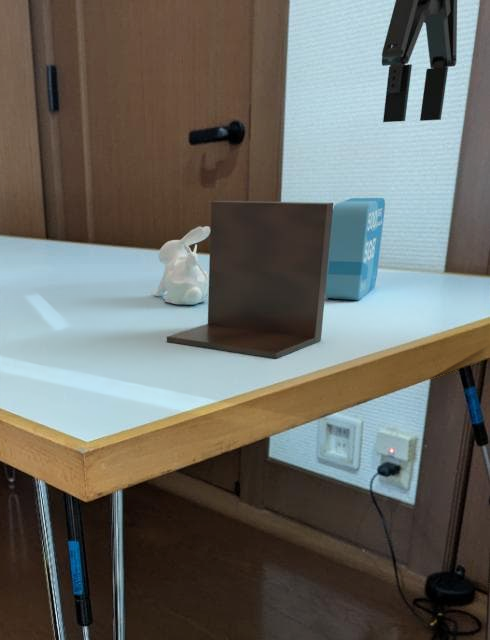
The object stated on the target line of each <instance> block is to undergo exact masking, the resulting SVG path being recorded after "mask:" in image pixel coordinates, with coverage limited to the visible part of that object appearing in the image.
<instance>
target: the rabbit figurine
mask: <svg viewBox="0 0 490 640" xmlns="http://www.w3.org/2000/svg"><path fill="white" fill-rule="evenodd" d="M210 227H211V226H208V225H207V226H206V225H205V226H197V227H195V228H193V229H191V230H189V232H187V234H185V235H184V236H183V237H182V238H181V239H172V240H168V241H167V242H165V243H164V244H163V245H162V246H161V247H160V249H159V250H158V253H157V257H158V261H159V262H160V263H162V264H164V265H165V266H164V269H163V270H164V271H163V274H162V277H161V279H160V282H159V284H158V286H157V289H156V291H155V292H151V293H150V295H151V296H155V297H162V296H163V299H164V302H166V303H169V304H174V305H188V306H193V305H197V304H200V303H203V302H205V300H206V297H207V295H208V293H209V272H207V271H206V270H204V268H203V266H202V264H201V263H200V262H199V261H198V260H199V255H198V254H197V248H198V244H197V243H200V242H202V241H204V240H206V239H207V238H208V237H210ZM194 244H195V245H194ZM192 245H194V248H193V251H192V249H191V248H190V246H192Z"/></svg>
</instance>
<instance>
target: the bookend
mask: <svg viewBox="0 0 490 640" xmlns="http://www.w3.org/2000/svg"><path fill="white" fill-rule="evenodd" d="M333 208H334V202H317V201H316V202H314V201H313V202H312V201H260V200H257V201H256V200H214V201H211V202H210V226H209V227H210V234H209V261H208V262H209V265H208V277H209V285H208V299H207V301H208V303H207V323H206V324H202V325H200V326H196V327H193V328H190V329H186V330H183V331H180V332H177V333H174V334H170V335H168V336H166V343H167V342H168V343H174V344H179V345H186V346H192V347H193V346H194V347H198V348H206V349H210V350H211V349H212V350H218V351H225V352H231V353H238V354H245V355H251V356H255V357H263V358H270V359H279V358H281V357H283V356H286V355H288V354H292V353H293V352H295V351H298V350H301V349H304V348H306V347H308V346H311V345H313V344H316V343H319V342H321V341H322V332H323V320H324V311H325V310H324V309H325V300H326V299H325V298H326V296H325V290H326V279H327V268H328V257H329V247H330V236H331V225H332V214H333Z"/></svg>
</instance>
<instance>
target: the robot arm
mask: <svg viewBox="0 0 490 640" xmlns="http://www.w3.org/2000/svg"><path fill="white" fill-rule="evenodd" d="M424 24H425V31H426V39H427V49H428V57H429V58H428V59H429V65H430V68H426V72H425V78H424V87H423V95H422V101H421V102H422V103H421V109H420V116H419V117H420V118H419V121H420V122H422V121H423V122H424V121H441V120H442V115H443V108H444V100H445V94H446V86H447V79H448V72H449V71H448V70H449V68H450V67H456V65H457V55H458V54H457V53H458V52H457V49H458V46H457V45H458V0H395V2H394V6H393V10H392V13H391V18H390V21H389V25H388V29H387V32H386V37H385V40H384V44H383V48H382V51H381V66H382V67H386V66H387V67H388V66H389V67H388V75H387V84H386V91H385V100H384V101H385V102H384V110H383V119H382V123H392V122H393V123H394V122H405V121H406V116H407V109H408V108H407V107H408V100H409V92H410V83H411V76H412V67H413V64H409V62H410V59H411V57H412V54H413V51H414V49H415V46H416V44H417V42H418V39H419V36H420V34H421V31H422V28H423V25H424Z"/></svg>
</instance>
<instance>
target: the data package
mask: <svg viewBox="0 0 490 640" xmlns="http://www.w3.org/2000/svg"><path fill="white" fill-rule="evenodd" d="M385 209H386V201H385V198H383V197H351V198H349V199H346V200H343V201H341V202H338V203H336V204H335V205H333V214H332V225H331V236H330V247H329V257H328V268H327V279H326V290H325V298H326V299H328V298H331V300H351V301H360V300H362V298H363V297H365V296H366V295H367V294H368V293H370V291H372V290H373V289H374V288H375V286H376V282H377V276H378V269H379V261H380V251H381V244H382V234H383V226H384V218H385V211H386V210H385ZM332 298H333V299H332Z"/></svg>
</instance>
